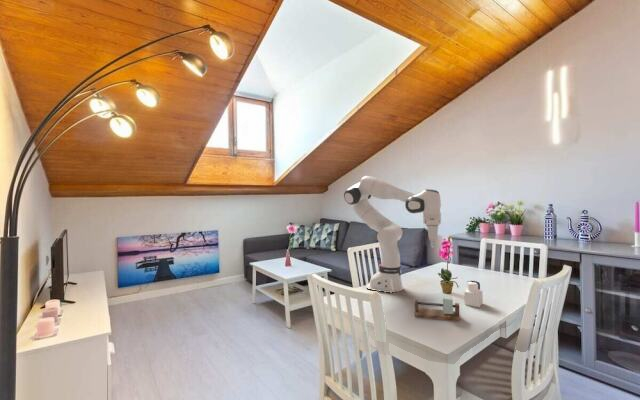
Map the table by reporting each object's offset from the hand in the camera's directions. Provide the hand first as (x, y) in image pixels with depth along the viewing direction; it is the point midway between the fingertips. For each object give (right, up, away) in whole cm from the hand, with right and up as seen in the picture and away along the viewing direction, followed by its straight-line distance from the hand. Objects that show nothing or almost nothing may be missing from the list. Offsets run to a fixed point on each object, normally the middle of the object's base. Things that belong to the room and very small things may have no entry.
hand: (432, 245), depth 164 cm
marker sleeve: (+1, -29, -16) cm, 33 cm away
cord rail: (-3, -32, -14) cm, 35 cm away
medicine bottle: (+21, -31, -1) cm, 37 cm away
